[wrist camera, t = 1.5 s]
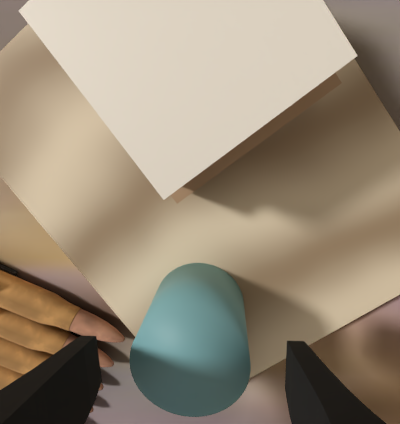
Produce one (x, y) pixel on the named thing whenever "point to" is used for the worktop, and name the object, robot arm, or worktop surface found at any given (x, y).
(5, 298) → the ammunition clip
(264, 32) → the tower top
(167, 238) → the birch board
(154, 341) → the teal piece
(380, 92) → the worktop surface
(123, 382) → the worktop surface
